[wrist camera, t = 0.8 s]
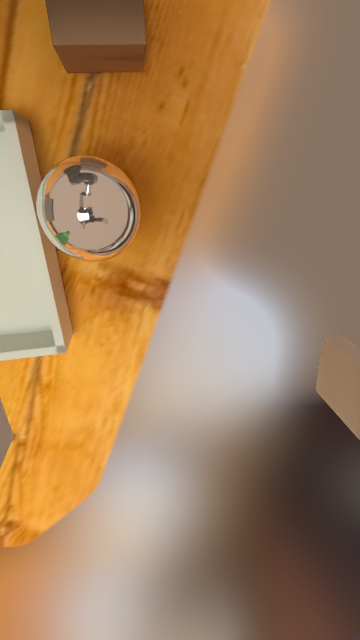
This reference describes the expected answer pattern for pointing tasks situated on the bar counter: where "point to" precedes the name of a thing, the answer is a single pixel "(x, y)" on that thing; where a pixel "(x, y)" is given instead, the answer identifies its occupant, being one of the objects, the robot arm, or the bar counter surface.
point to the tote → (26, 254)
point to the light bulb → (88, 208)
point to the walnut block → (98, 34)
